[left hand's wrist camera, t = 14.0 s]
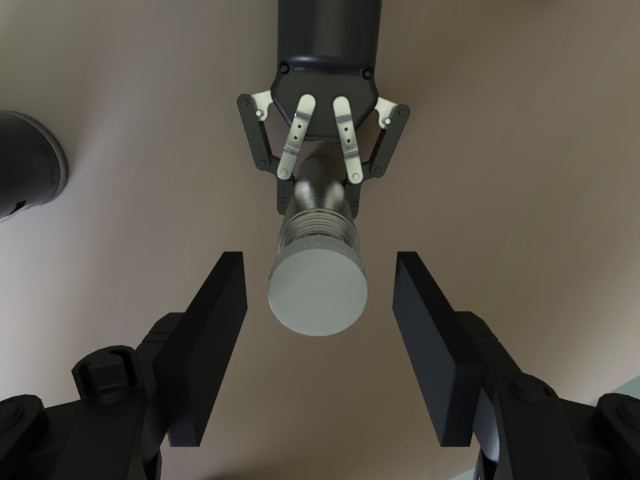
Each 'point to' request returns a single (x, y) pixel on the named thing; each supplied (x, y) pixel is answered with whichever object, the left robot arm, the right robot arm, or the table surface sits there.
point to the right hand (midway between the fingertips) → (317, 219)
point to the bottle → (318, 206)
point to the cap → (317, 286)
